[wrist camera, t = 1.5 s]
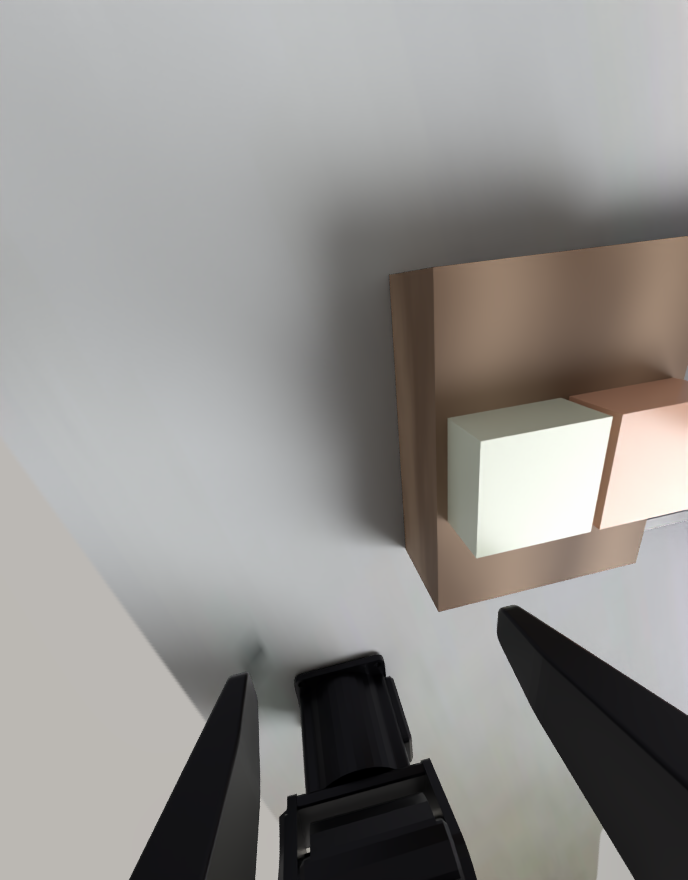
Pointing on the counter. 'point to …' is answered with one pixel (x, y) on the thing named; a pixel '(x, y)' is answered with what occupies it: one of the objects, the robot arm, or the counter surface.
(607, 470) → the tile terracotta
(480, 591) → the brown wooden block
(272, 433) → the counter surface
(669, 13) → the counter surface
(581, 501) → the tile sage
